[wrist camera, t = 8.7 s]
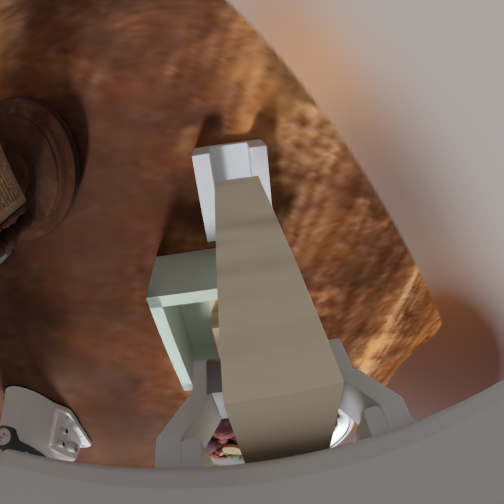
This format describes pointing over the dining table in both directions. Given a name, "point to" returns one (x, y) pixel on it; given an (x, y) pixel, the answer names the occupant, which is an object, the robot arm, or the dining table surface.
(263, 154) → the holder
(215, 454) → the bowl
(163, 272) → the box
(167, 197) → the dining table surface
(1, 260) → the framed board
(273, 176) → the dining table surface
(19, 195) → the scroll
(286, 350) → the beige streaked board
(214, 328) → the offcut short
